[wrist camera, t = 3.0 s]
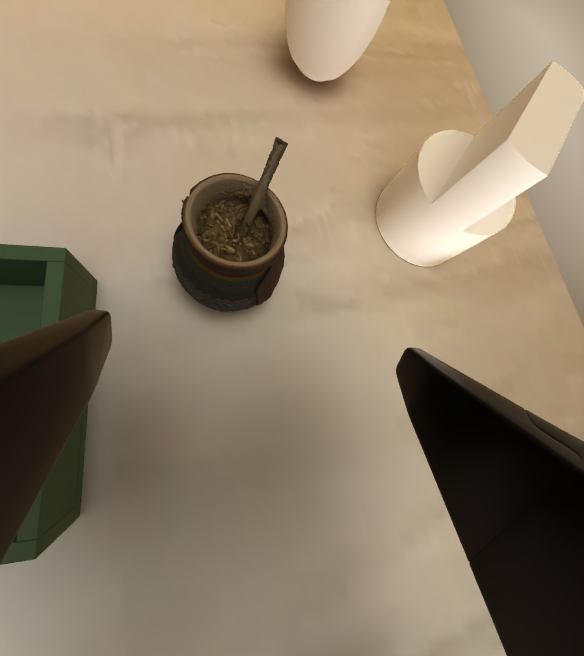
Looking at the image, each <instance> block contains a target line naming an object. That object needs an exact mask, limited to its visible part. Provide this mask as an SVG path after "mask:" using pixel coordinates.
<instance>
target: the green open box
mask: <svg viewBox="0 0 584 656" xmlns="http://www.w3.org/2000/svg"><path fill="white" fill-rule="evenodd" d="M96 289H97V280H96V279H95V278H94V277H93V276H92V275H91V274H90V273H89V272H88V271H87V270H86V269H85V268H84V267H83V265H82V264H81V263H80V262H79V261H78V260H77V259H76V258H75V257H74V256H73V255H72V254H71V253H70V252H69V251H68V250H67V249H66V248H55V247H38V246H22V245H6V244H0V343H3V342H5V341H8V340H11V339H13V338H16V337H19V336H21V335H24V334H27V333H30V332H32V331H35V330H38V329H40V328H43V327H46V326H48V325H51V324H54V323H56V322H59V321H62V320H65V319H67V318H70V317H73V316H75V315H78V314H81V313H83V312H86V311H89V310H95V303H96ZM87 408H88V403H87V405H86V407H85V409H84V411H83V412H82V414H81V416H80V418H79V420H78V422H77V424H76V425H75V427H74V429H73V431H72V433H71V435H70V437H69V438H68V440H67V442H66V444H65V446H64V448H63V450H62V451H61V453H60V455H59V457H58V459H57V461H56V463H55V464H54V466H53V468H52V470H51V472H50V474H49V476H48V477H47V479H46V481H45V483H44V485H43V487H42V489H41V490H40V492H39V494H38V496H37V498H36V500H35V502H34V503H33V505H32V507H31V509H30V511H29V513H28V514H27V516H26V518H25V520H24V522H23V524H22V526H21V527H20V529H19V531H18V533H17V535H16V537H15V539H14V540H13V542H12V544H11V546H10V548H9V550H8V552H7V553H6V555H5V557H4V559H3V561H2V563H1V565H2V564H8V563H14V562H20V561H26V560H33V559H36V558H37V557H38V556H39V555H40V554H41V553H42V552H43V551H44V550H45V549H46V548H47V547H48V546H49V545H50V544H51V543H53V542H54V541H55V540H56V539H57V538H58V537H59V536H60V535H61V534H62V533H63V532H64V531H65V530H66V529H67V528H68V527H69V526H70V525H71V524H72V523H73V522H74V521H75V520H76V519H77V518H78V517H79V514H80V501H81V488H82V474H83V461H84V448H85V435H86V422H87Z"/></svg>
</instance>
